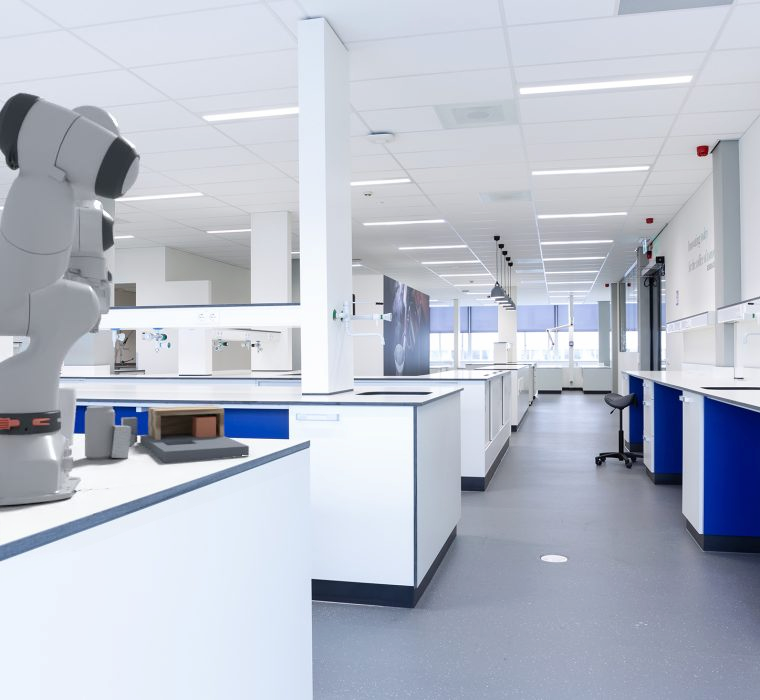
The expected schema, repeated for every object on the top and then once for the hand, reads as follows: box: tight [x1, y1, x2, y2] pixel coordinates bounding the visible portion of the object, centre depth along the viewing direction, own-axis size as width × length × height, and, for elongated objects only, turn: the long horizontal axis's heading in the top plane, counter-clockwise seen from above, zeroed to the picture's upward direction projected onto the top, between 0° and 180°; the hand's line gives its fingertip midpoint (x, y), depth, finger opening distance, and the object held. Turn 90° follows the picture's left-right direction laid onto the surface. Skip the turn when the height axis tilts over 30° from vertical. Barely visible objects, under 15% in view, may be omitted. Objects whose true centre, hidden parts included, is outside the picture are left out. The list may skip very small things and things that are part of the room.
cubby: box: [147, 404, 225, 440], centre depth 183 cm, size 12×17×7 cm
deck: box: [139, 433, 250, 464], centre depth 173 cm, size 34×19×2 cm, turn 28°
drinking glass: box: [58, 387, 77, 447], centre depth 179 cm, size 7×7×15 cm
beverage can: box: [84, 405, 116, 461], centre depth 161 cm, size 6×6×12 cm
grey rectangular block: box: [110, 424, 136, 459], centre depth 169 cm, size 21×8×7 cm, turn 29°
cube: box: [192, 415, 216, 437], centre depth 182 cm, size 5×5×5 cm
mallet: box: [120, 416, 138, 443], centre depth 188 cm, size 14×4×7 cm, turn 28°
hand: (86, 332), depth 159 cm, fingers open, 8 cm apart
